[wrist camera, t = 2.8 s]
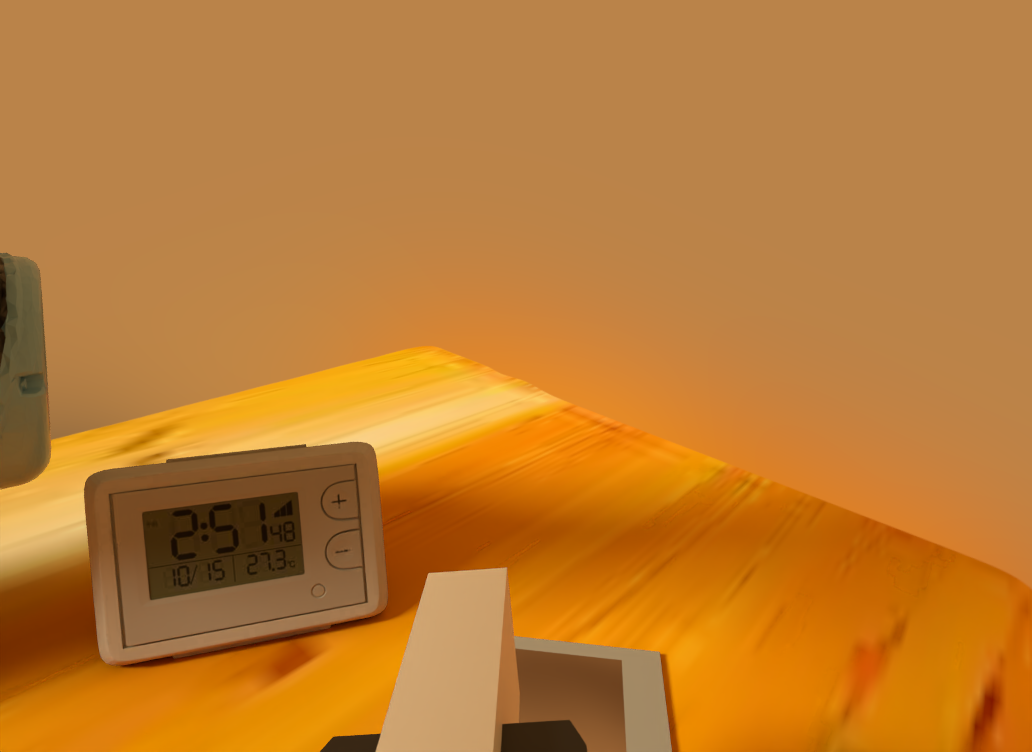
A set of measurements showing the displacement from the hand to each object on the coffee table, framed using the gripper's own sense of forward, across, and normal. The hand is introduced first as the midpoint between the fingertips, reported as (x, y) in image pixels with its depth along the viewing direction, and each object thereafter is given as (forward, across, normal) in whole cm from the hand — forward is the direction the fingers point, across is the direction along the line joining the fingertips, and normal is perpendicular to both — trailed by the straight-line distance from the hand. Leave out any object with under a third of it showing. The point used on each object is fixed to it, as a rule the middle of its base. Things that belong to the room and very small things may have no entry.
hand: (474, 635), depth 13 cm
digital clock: (+27, -18, -15) cm, 35 cm away
